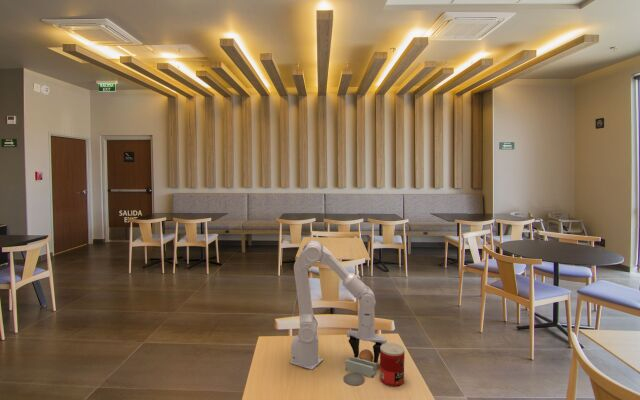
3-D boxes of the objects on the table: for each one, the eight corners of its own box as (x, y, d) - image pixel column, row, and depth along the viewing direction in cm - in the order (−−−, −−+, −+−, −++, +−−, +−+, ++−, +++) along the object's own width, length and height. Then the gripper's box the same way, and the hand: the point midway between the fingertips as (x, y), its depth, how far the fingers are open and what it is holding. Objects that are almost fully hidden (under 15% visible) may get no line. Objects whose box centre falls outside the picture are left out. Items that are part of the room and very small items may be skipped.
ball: (356, 364, 135) (357, 351, 134) (362, 358, 139) (362, 345, 139) (370, 368, 132) (370, 354, 132) (375, 362, 137) (375, 348, 136)
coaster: (339, 381, 124) (339, 381, 124) (349, 371, 130) (349, 370, 130) (359, 387, 121) (359, 387, 121) (367, 377, 127) (367, 376, 127)
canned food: (399, 389, 120) (399, 356, 119) (376, 381, 124) (376, 349, 123) (407, 377, 126) (407, 346, 125) (384, 371, 131) (385, 340, 130)
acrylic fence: (345, 369, 131) (345, 360, 131) (349, 365, 134) (349, 356, 134) (372, 377, 126) (372, 367, 126) (376, 373, 129) (376, 363, 129)
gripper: (389, 323, 134) (389, 359, 135) (352, 315, 141) (352, 350, 143) (382, 330, 128) (382, 368, 129) (344, 322, 135) (344, 358, 136)
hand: (366, 359), depth 135 cm, fingers open, 7 cm apart
